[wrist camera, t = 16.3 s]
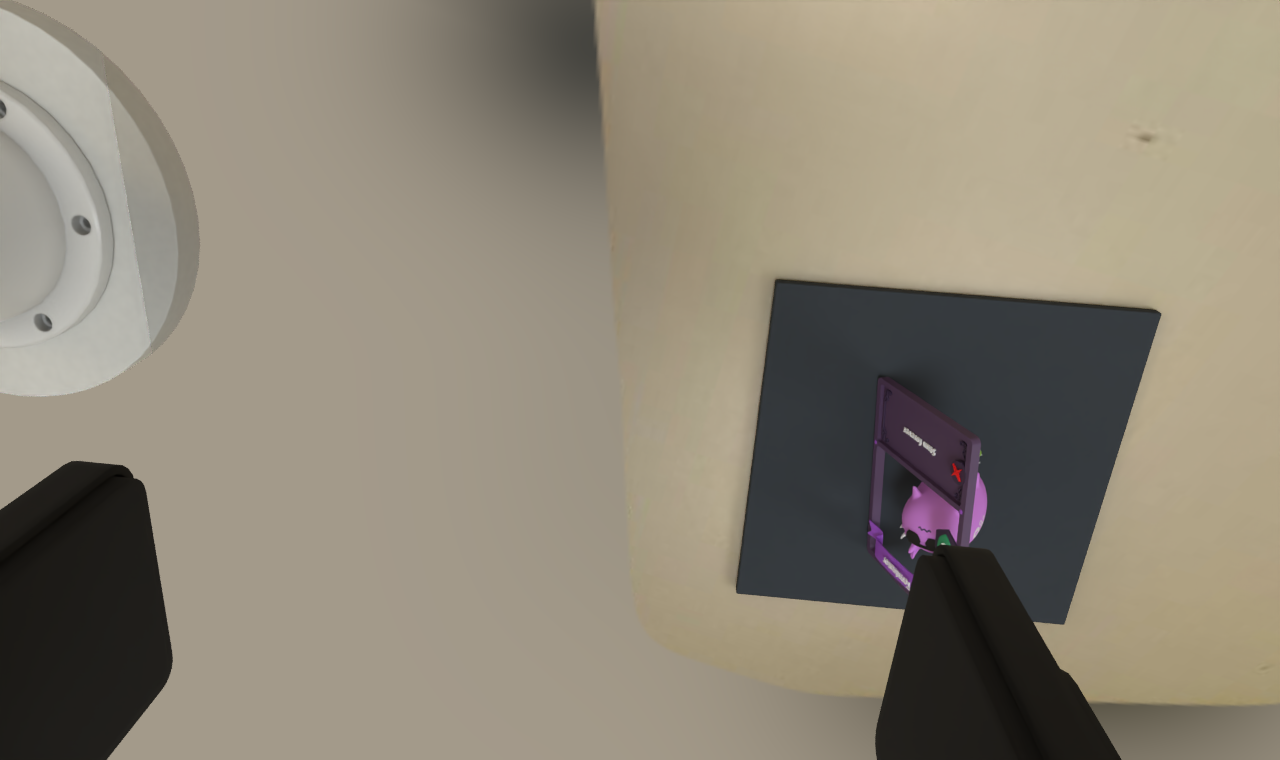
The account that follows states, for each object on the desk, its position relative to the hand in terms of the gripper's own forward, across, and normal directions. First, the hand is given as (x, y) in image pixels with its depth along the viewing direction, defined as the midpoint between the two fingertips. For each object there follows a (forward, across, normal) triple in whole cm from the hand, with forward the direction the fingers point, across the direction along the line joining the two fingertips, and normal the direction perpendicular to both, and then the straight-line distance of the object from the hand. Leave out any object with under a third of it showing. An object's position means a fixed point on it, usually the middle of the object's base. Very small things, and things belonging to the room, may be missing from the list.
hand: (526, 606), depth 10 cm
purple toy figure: (+27, -14, +11) cm, 32 cm away
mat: (+27, -14, +11) cm, 33 cm away
